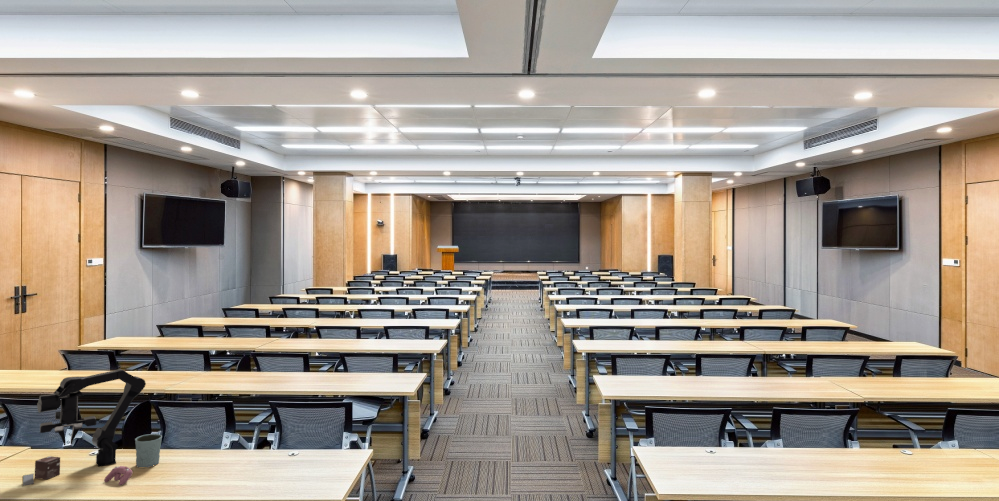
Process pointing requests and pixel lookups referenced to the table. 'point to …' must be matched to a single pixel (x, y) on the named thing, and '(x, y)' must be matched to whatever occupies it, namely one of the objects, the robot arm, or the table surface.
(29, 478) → the grey flat bar
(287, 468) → the table surface
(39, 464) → the box
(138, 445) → the grey cup
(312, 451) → the table surface
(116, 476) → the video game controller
